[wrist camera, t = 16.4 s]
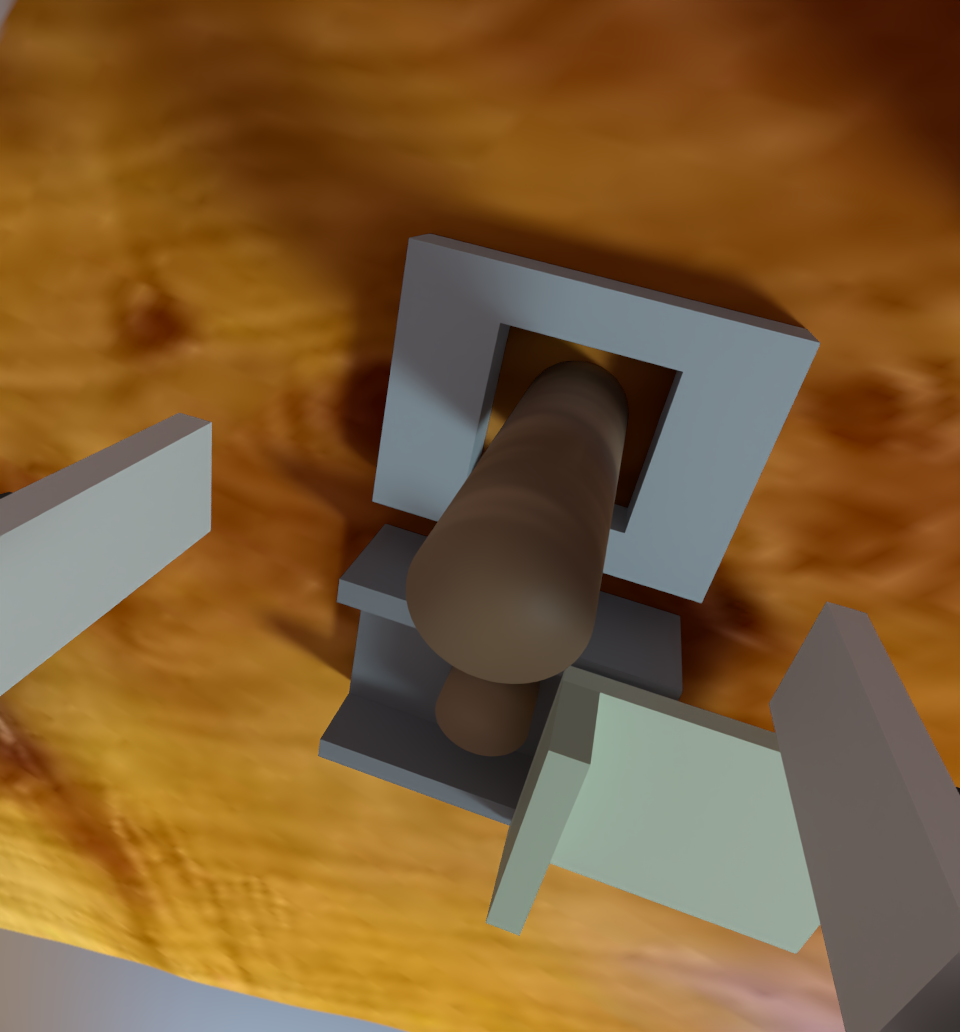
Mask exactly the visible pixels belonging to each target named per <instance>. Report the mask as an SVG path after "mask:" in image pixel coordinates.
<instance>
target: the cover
mask: <svg viewBox="0 0 960 1032" xmlns="http://www.w3.org/2000/svg"><path fill="white" fill-rule="evenodd" d="M549 863H551V864H554V865H556V866H559V867H562V868H564V869H567V870H570V871H573V872H575V873H578V874H581V875H583V876H586V877H589V878H592V879H594V880H597V881H600V882H602V883H605V884H608V885H611V886H613V887H616V888H619V889H621V890H624V891H627V892H630V893H632V894H635V895H638V896H640V897H643V898H646V899H649V900H651V901H654V902H657V903H659V904H662V905H665V906H668V907H670V908H673V909H676V910H678V911H681V912H684V913H687V914H689V915H692V916H695V917H697V918H700V919H703V920H706V921H708V922H711V923H714V924H716V925H719V926H722V927H725V928H727V929H730V930H733V931H735V932H738V933H741V934H744V935H746V936H749V937H752V938H755V939H757V940H760V941H763V942H765V943H768V944H771V945H774V946H776V947H779V948H782V949H784V950H787V951H790V952H793V953H795V954H797V952H798V951H799V950H800V949H801V947H802V946H803V945H804V944H805V942H806V941H807V940H808V939H809V937H810V936H811V935H812V934H813V932H814V931H815V930H816V929H817V928H818V926H819V925H820V920H819V916H818V911H817V907H816V903H815V899H814V894H813V890H812V886H811V881H810V877H809V873H808V869H807V864H806V860H805V856H804V852H803V847H802V843H801V839H800V835H799V830H798V826H797V822H796V817H795V813H794V809H793V805H792V800H791V796H790V792H789V788H788V783H787V779H786V775H785V770H784V766H783V762H782V758H781V753H780V749H779V745H778V741H777V736H776V733H773V732H770V731H767V730H764V729H761V728H758V727H755V726H752V725H749V724H746V723H743V722H740V721H737V720H734V719H731V718H728V717H725V716H722V715H719V714H716V713H713V712H710V711H707V710H704V709H700V708H697V707H694V706H691V705H688V704H685V703H682V702H679V701H676V700H673V699H670V698H667V697H664V696H661V695H658V694H655V693H652V692H649V691H646V690H643V689H640V688H637V687H634V686H631V685H628V684H625V683H622V682H618V681H615V680H612V679H609V678H606V677H603V676H600V675H597V674H594V673H591V672H588V671H585V670H582V669H579V668H576V667H573V666H569V667H568V668H567V669H565V670H564V673H563V676H562V679H561V682H560V684H559V687H558V690H557V693H556V696H555V699H554V701H553V704H552V707H551V710H550V713H549V716H548V719H547V721H546V724H545V727H544V730H543V733H542V736H541V738H540V741H539V744H538V747H537V750H536V753H535V756H534V758H533V761H532V764H531V767H530V770H529V773H528V775H527V778H526V781H525V784H524V787H523V790H522V792H521V795H520V798H519V801H518V804H517V807H516V810H515V812H514V815H513V818H512V821H511V824H510V827H509V830H508V834H507V838H506V842H505V846H504V850H503V854H502V858H501V862H500V866H499V871H498V875H497V879H496V883H495V887H494V891H493V895H492V899H491V903H490V907H489V911H488V915H487V920H486V923H488V924H490V925H493V926H495V927H498V928H501V929H503V930H506V931H508V932H511V933H514V934H516V935H519V936H520V933H521V931H522V928H523V926H524V924H525V921H526V919H527V916H528V914H529V912H530V909H531V907H532V904H533V902H534V899H535V897H536V895H537V892H538V890H539V887H540V885H541V883H542V880H543V878H544V875H545V873H546V871H547V868H548V866H549Z"/></svg>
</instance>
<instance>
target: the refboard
mask: <svg viewBox="0 0 960 1032" xmlns="http://www.w3.org/2000/svg"><path fill="white" fill-rule="evenodd" d="M426 538H427V537H426V536H423V535H420V534H417V533H414V532H410V531H407V530H404V529H401V528H398V527H394V526H391V525H388V524H385V525H384V526H383V527H382V528H381V530H380V531H379V532H378V533H377V534H376V536H375V537H374V538H373V539H372V540H371V542H370V543H369V544H368V545H367V546H366V548H365V549H364V550H363V551H362V553H361V554H360V555H359V556H358V557H357V559H356V560H355V561H354V562H353V563H352V565H351V566H350V567H349V568H348V569H347V571H346V572H345V573H344V574H343V575H342V577H341V578H340V579H339V588H338V596H337V602H339V603H342V604H345V605H348V606H351V607H354V608H357V609H360V610H361V614H360V621H359V628H358V635H357V642H356V649H355V656H354V663H353V670H352V677H351V683H350V690H349V694H348V696H347V697H346V699H345V700H344V702H343V704H342V705H341V707H340V708H339V710H338V712H337V713H336V715H335V716H334V718H333V720H332V721H331V723H330V724H329V726H328V728H327V729H326V731H325V732H324V734H323V736H322V737H321V739H320V746H319V754H318V756H320V757H322V758H325V759H328V760H331V761H333V762H336V763H339V764H342V765H344V766H347V767H350V768H353V769H355V770H358V771H361V772H364V773H366V774H369V775H372V776H375V777H377V778H380V779H383V780H386V781H388V782H391V783H394V784H397V785H399V786H402V787H405V788H408V789H410V790H413V791H416V792H419V793H421V794H424V795H427V796H430V797H432V798H435V799H438V800H441V801H443V802H446V803H449V804H452V805H454V806H457V807H460V808H463V809H465V810H468V811H471V812H474V813H476V814H479V815H482V816H485V817H487V818H490V819H493V820H496V821H498V822H501V823H504V824H507V825H509V826H510V824H511V821H512V818H513V815H514V812H515V810H516V807H517V804H518V801H519V798H520V795H521V792H522V790H523V787H524V784H525V781H526V778H527V775H528V773H529V770H530V767H531V764H532V761H533V758H534V756H535V753H536V750H537V747H538V744H539V741H540V738H541V736H542V733H543V730H544V727H545V724H546V721H547V719H548V716H549V713H550V710H551V707H552V704H553V701H554V699H555V696H556V693H557V690H558V687H559V684H560V682H561V679H562V676H563V673H564V670H563V671H562V672H560V673H558V674H557V675H554V676H552V677H550V678H547V679H544V680H540V681H537V682H531V683H525V684H506V683H497V682H492V681H487V680H484V679H480V678H477V677H475V676H472V675H469V674H467V673H465V672H463V671H461V670H459V669H457V668H456V667H454V666H452V665H451V664H449V663H448V662H446V661H445V660H444V659H443V658H441V657H440V656H439V655H438V654H437V653H436V652H435V651H433V650H432V649H431V648H430V647H429V645H428V644H427V643H426V642H425V640H424V639H423V638H422V637H421V635H420V633H419V632H418V630H417V629H416V627H415V625H414V623H413V621H412V619H411V616H410V613H409V610H408V605H407V600H406V578H407V574H408V570H409V567H410V565H411V562H412V560H413V558H414V556H415V555H416V553H417V552H418V550H419V549H420V547H421V546H422V544H423V543H424V541H425V540H426ZM570 666H573V667H576V668H579V669H582V670H585V671H588V672H591V673H594V674H597V675H600V676H603V677H606V678H609V679H612V680H615V681H618V682H622V683H625V684H628V685H631V686H634V687H637V688H640V689H643V690H646V691H649V692H652V693H655V694H658V695H661V696H664V697H667V698H670V699H673V700H676V701H678V700H679V698H680V696H681V694H682V692H683V687H682V655H681V623H680V616H679V615H675V614H672V613H669V612H666V611H663V610H659V609H656V608H653V607H650V606H647V605H643V604H640V603H637V602H634V601H631V600H627V599H624V598H621V597H618V596H615V595H611V594H608V593H605V592H602V591H600V593H599V599H598V605H597V611H596V617H595V623H594V628H593V632H592V636H591V638H590V641H589V643H588V645H587V647H586V648H585V650H584V651H583V653H582V654H581V656H580V657H579V658H578V659H577V660H576V661H575V662H574V663H573V664H572V665H570Z"/></svg>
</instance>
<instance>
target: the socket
mask: <svg viewBox="0 0 960 1032" xmlns="http://www.w3.org/2000/svg"><path fill="white" fill-rule="evenodd" d="M510 326H514V327H518V328H522V329H525V330H529V331H533V332H537V333H540V334H544V335H548V336H551V337H555V338H559V339H563V340H566V341H570V342H574V343H578V344H581V345H585V346H589V347H593V348H596V349H600V350H604V351H607V352H611V353H615V354H619V355H622V356H626V357H630V358H634V359H637V360H641V361H645V362H649V363H652V364H656V365H660V366H664V367H667V368H671V369H675V370H677V371H676V374H675V377H674V380H673V383H672V385H671V388H670V391H669V394H668V397H667V399H666V402H665V405H664V408H663V411H662V413H661V416H660V419H659V422H658V425H657V427H656V430H655V433H654V436H653V439H652V442H651V444H650V447H649V450H648V453H647V456H646V458H645V461H644V464H643V467H642V470H641V472H640V475H639V478H638V481H637V484H636V486H635V489H634V492H633V495H632V498H631V500H630V503H629V506H628V508H627V507H623V506H620V505H616V504H614V508H613V514H612V520H611V526H610V532H609V538H608V544H607V551H606V557H605V563H604V569H603V573H605V574H609V575H612V576H615V577H618V578H622V579H625V580H628V581H631V582H634V583H638V584H641V585H644V586H647V587H651V588H654V589H657V590H660V591H664V592H667V593H670V594H673V595H676V596H680V597H683V598H686V599H689V600H693V601H696V602H699V603H702V602H703V599H704V597H705V595H706V593H707V591H708V588H709V586H710V584H711V582H712V580H713V577H714V575H715V573H716V571H717V569H718V567H719V564H720V562H721V560H722V558H723V556H724V553H725V551H726V549H727V547H728V545H729V542H730V540H731V538H732V536H733V534H734V532H735V529H736V527H737V525H738V523H739V521H740V518H741V516H742V514H743V512H744V510H745V507H746V505H747V503H748V501H749V499H750V496H751V494H752V492H753V490H754V488H755V486H756V483H757V481H758V479H759V477H760V475H761V472H762V470H763V468H764V466H765V464H766V461H767V459H768V457H769V455H770V453H771V450H772V448H773V446H774V444H775V442H776V440H777V437H778V435H779V433H780V431H781V429H782V426H783V424H784V422H785V420H786V418H787V415H788V413H789V411H790V409H791V407H792V404H793V402H794V400H795V398H796V396H797V394H798V391H799V389H800V387H801V385H802V383H803V380H804V378H805V376H806V374H807V372H808V369H809V367H810V365H811V363H812V361H813V358H814V356H815V354H816V352H817V350H818V348H819V345H820V342H819V341H818V340H817V339H816V338H815V337H814V336H813V335H812V334H811V333H810V332H809V331H808V330H807V329H804V328H800V327H797V326H793V325H789V324H785V323H781V322H777V321H773V320H769V319H765V318H761V317H757V316H753V315H749V314H745V313H741V312H737V311H733V310H730V309H726V308H722V307H718V306H714V305H710V304H706V303H702V302H698V301H694V300H690V299H686V298H682V297H678V296H674V295H670V294H667V293H663V292H659V291H655V290H651V289H647V288H643V287H639V286H635V285H631V284H627V283H623V282H619V281H615V280H611V279H607V278H603V277H600V276H596V275H592V274H588V273H584V272H580V271H576V270H572V269H568V268H564V267H560V266H556V265H552V264H548V263H544V262H540V261H537V260H533V259H529V258H525V257H521V256H517V255H513V254H509V253H505V252H501V251H497V250H493V249H489V248H485V247H481V246H477V245H474V244H470V243H466V242H462V241H458V240H454V239H450V238H446V237H442V236H438V235H434V234H425V235H420V236H415V237H411V238H409V241H408V249H407V256H406V263H405V270H404V277H403V284H402V292H401V299H400V306H399V313H398V320H397V327H396V335H395V342H394V349H393V356H392V363H391V370H390V377H389V385H388V392H387V399H386V406H385V413H384V420H383V428H382V435H381V442H380V449H379V456H378V463H377V471H376V478H375V485H374V492H373V499H372V501H373V502H376V503H379V504H383V505H386V506H389V507H392V508H395V509H399V510H402V511H405V512H408V513H412V514H415V515H418V516H421V517H425V518H428V519H431V520H434V521H437V522H438V521H439V519H440V518H441V516H442V515H443V513H444V512H445V510H446V509H447V507H448V506H449V505H450V503H451V502H452V500H453V499H454V497H455V496H456V494H457V493H458V491H459V490H460V488H461V487H462V485H463V484H464V482H465V481H466V479H467V478H468V476H469V475H470V474H471V472H472V471H473V469H474V468H475V466H476V465H477V463H478V462H479V460H480V459H481V455H482V450H483V446H484V441H485V437H486V432H487V428H488V423H489V419H490V414H491V410H492V405H493V401H494V396H495V392H496V387H497V383H498V378H499V374H500V369H501V365H502V360H503V356H504V351H505V347H506V342H507V338H508V333H509V329H510Z"/></svg>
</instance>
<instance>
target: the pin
mask: <svg viewBox="0 0 960 1032" xmlns="http://www.w3.org/2000/svg"><path fill="white" fill-rule="evenodd" d="M628 415H629V412H628V402H627V398H626V395H625V393H624V391H623V389H622V387H621V385H620V384H619V382H618V381H617V380H616V379H615V378H614V376H612V375H611V374H610V373H609V372H608V371H606V370H605V369H603V368H601V367H599V366H597V365H595V364H592V363H589V362H584V361H567V362H562V363H558V364H555V365H553V366H551V367H549V368H547V369H546V370H544V371H543V372H542V373H541V374H539V375H538V376H537V377H536V379H535V380H534V381H533V382H532V384H531V385H530V387H529V388H528V390H527V391H526V392H525V394H524V395H523V397H522V398H521V400H520V401H519V403H518V404H517V406H516V407H515V409H514V410H513V412H512V413H511V415H510V416H509V418H508V419H507V420H506V422H505V423H504V425H503V426H502V428H501V429H500V431H499V432H498V434H497V435H496V437H495V438H494V440H493V441H492V443H491V444H490V446H489V447H488V448H487V450H486V451H485V453H484V454H483V456H482V457H481V459H480V460H479V462H478V463H477V465H476V466H475V468H474V469H473V471H472V472H471V474H470V475H469V476H468V478H467V479H466V481H465V482H464V484H463V485H462V487H461V488H460V490H459V491H458V493H457V494H456V496H455V497H454V499H453V500H452V502H451V503H450V505H449V506H448V507H447V509H446V510H445V512H444V513H443V515H442V516H441V518H440V519H439V521H438V522H437V524H436V525H435V527H434V528H433V530H432V531H431V533H430V534H429V535H428V537H427V538H426V540H425V541H424V543H423V544H422V546H421V547H420V549H419V550H418V552H417V553H416V555H415V556H414V558H413V560H412V562H411V565H410V567H409V570H408V574H407V578H406V600H407V605H408V610H409V613H410V616H411V619H412V621H413V623H414V625H415V627H416V629H417V630H418V632H419V633H420V635H421V637H422V638H423V639H424V640H425V642H426V643H427V644H428V645H429V647H430V648H431V649H432V650H433V651H435V652H436V653H437V654H438V655H439V656H440V657H441V658H443V659H444V660H445V661H446V662H448V663H449V664H451V665H452V666H454V667H456V668H457V669H459V670H461V671H463V672H465V673H467V674H469V675H472V676H475V677H477V678H480V679H484V680H487V681H492V682H497V683H506V684H525V683H531V682H537V681H540V680H544V679H547V678H550V677H552V676H554V675H557V674H558V673H560V672H562V671H563V670H565V669H567V668H568V667H569V666H570V665H572V664H573V663H574V662H575V661H576V660H577V659H578V658H579V657H580V656H581V654H582V653H583V651H584V650H585V648H586V647H587V645H588V643H589V641H590V638H591V636H592V632H593V628H594V623H595V617H596V611H597V605H598V599H599V593H600V587H601V581H602V575H603V569H604V563H605V557H606V551H607V544H608V538H609V532H610V526H611V520H612V514H613V508H614V502H615V496H616V490H617V484H618V478H619V472H620V466H621V459H622V453H623V447H624V441H625V435H626V429H627V423H628Z"/></svg>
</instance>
